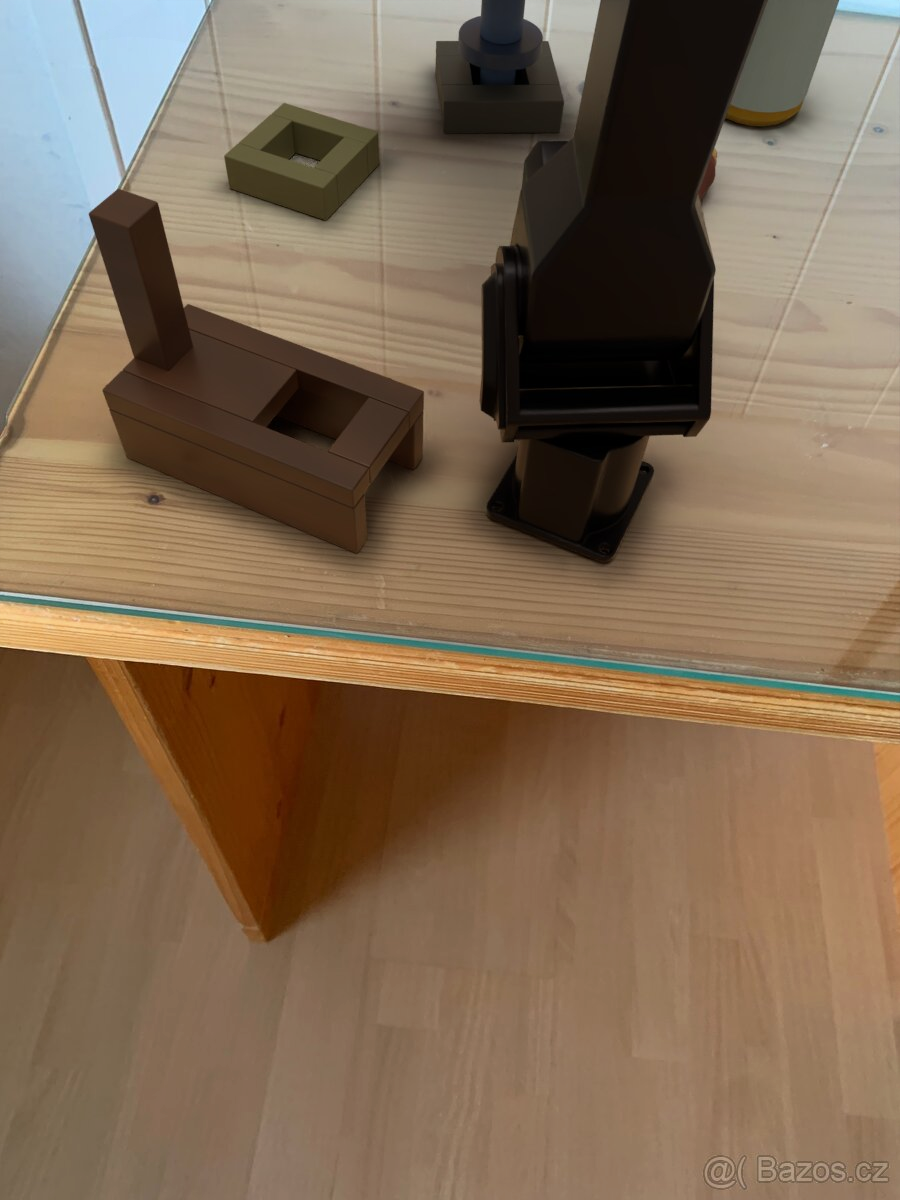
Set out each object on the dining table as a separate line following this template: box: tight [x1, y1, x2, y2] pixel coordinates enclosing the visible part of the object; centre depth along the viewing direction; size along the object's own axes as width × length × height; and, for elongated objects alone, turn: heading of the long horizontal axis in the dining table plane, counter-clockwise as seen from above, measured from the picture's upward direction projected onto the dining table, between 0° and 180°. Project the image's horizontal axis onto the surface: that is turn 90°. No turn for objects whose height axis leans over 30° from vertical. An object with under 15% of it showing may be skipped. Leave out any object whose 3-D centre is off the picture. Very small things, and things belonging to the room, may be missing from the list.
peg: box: [457, 0, 544, 85], centre depth 62 cm, size 6×6×10 cm
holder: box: [434, 40, 565, 134], centre depth 65 cm, size 8×8×2 cm
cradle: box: [223, 102, 380, 221], centre depth 59 cm, size 7×7×2 cm
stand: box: [88, 188, 425, 554], centre depth 42 cm, size 7×13×12 cm, turn 64°
